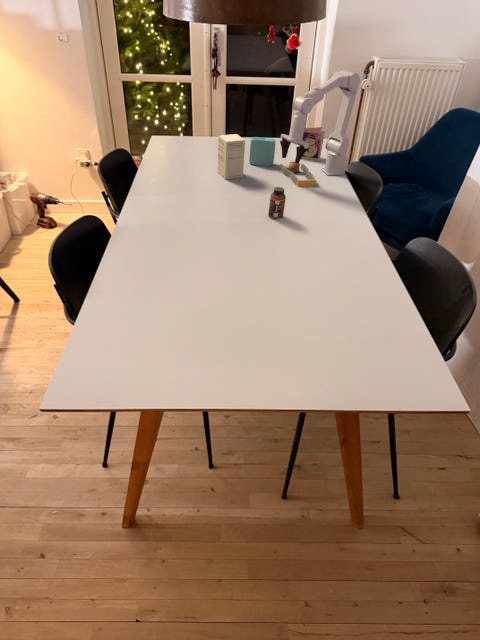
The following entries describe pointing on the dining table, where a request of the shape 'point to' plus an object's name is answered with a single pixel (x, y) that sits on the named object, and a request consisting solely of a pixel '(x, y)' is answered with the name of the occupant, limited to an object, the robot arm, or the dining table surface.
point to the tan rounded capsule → (294, 167)
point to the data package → (262, 151)
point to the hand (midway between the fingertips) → (290, 160)
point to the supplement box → (231, 156)
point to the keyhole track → (309, 182)
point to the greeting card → (313, 143)
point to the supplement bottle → (277, 203)
